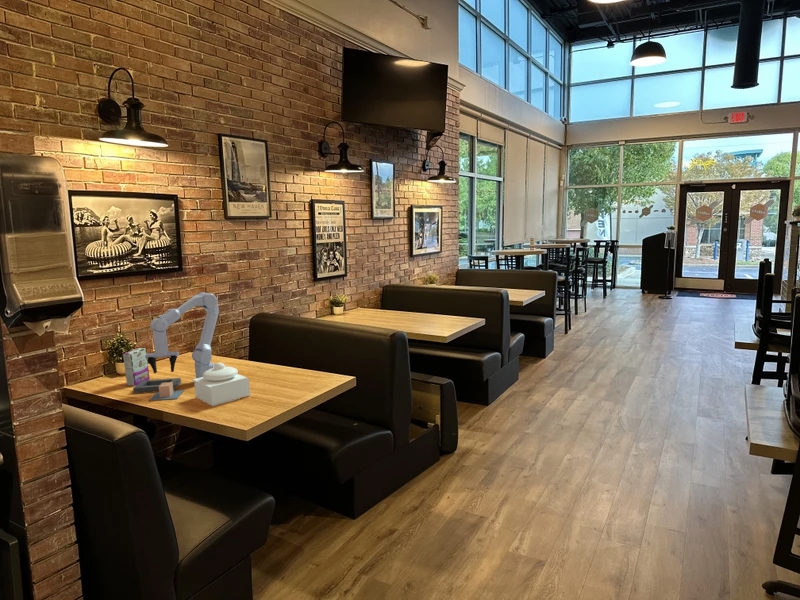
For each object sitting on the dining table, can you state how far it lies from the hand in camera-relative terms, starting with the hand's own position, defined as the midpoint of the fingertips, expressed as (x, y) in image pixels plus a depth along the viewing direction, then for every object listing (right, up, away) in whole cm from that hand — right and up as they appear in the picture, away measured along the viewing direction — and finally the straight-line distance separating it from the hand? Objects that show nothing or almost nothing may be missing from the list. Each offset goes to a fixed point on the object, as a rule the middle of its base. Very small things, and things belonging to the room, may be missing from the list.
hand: (164, 372), depth 249 cm
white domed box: (+31, -10, -12) cm, 35 cm away
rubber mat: (+4, -10, -7) cm, 13 cm away
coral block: (+4, -9, -7) cm, 13 cm away
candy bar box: (-20, -8, +16) cm, 26 cm away
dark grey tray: (-5, -8, +5) cm, 11 cm away
